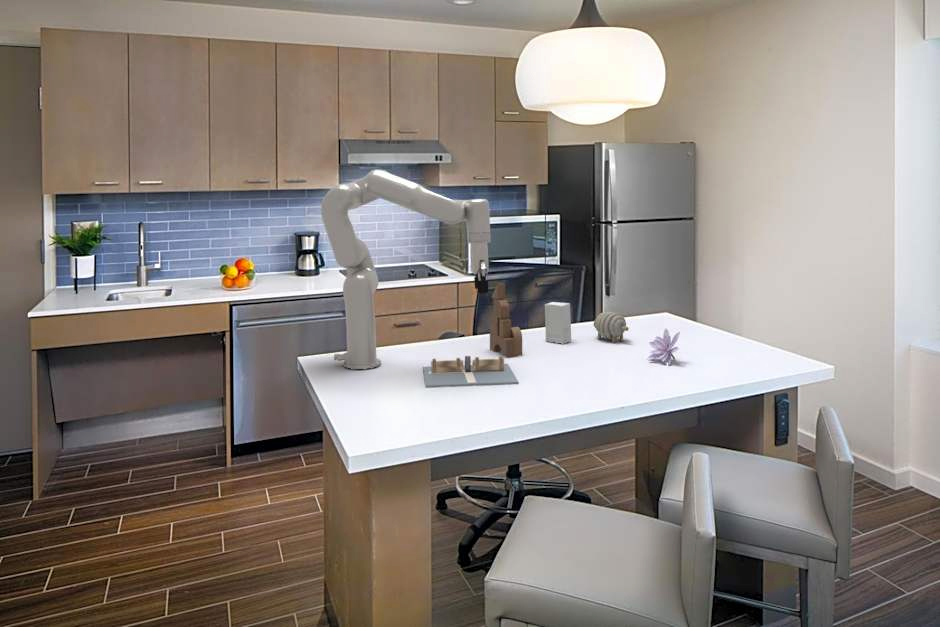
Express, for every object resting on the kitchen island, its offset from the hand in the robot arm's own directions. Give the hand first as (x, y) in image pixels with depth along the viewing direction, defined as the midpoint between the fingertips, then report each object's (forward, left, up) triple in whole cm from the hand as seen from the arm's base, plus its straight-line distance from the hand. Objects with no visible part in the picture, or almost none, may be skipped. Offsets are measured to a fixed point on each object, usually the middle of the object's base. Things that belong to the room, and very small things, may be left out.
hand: (481, 290), depth 233 cm
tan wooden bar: (+1, -9, -24) cm, 26 cm away
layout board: (-6, -12, -25) cm, 28 cm away
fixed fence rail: (-12, -9, -24) cm, 29 cm away
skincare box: (+32, +31, -25) cm, 52 cm away
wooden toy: (+10, +18, -25) cm, 33 cm away
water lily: (+60, -3, -26) cm, 66 cm away
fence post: (-6, -9, -25) cm, 27 cm away
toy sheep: (+52, +30, -25) cm, 66 cm away
